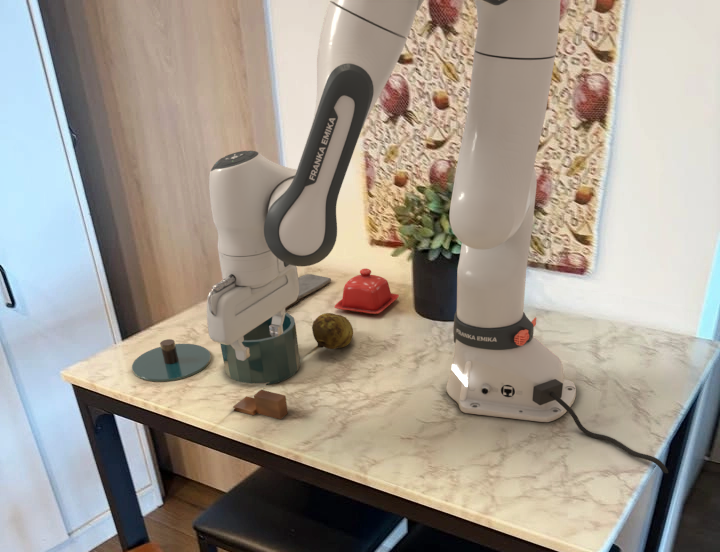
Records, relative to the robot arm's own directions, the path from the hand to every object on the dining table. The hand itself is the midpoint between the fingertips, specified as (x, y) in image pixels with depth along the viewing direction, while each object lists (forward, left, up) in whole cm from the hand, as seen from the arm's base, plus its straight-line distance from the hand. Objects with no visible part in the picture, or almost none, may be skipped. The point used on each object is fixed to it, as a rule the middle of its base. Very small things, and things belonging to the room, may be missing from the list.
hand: (260, 346), depth 125 cm
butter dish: (+7, -47, -13) cm, 49 cm away
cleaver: (+27, -43, -13) cm, 53 cm away
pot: (+11, -14, -13) cm, 22 cm away
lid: (+29, -7, -12) cm, 32 cm away
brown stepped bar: (+2, 0, -13) cm, 13 cm away
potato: (+3, -27, -13) cm, 30 cm away
